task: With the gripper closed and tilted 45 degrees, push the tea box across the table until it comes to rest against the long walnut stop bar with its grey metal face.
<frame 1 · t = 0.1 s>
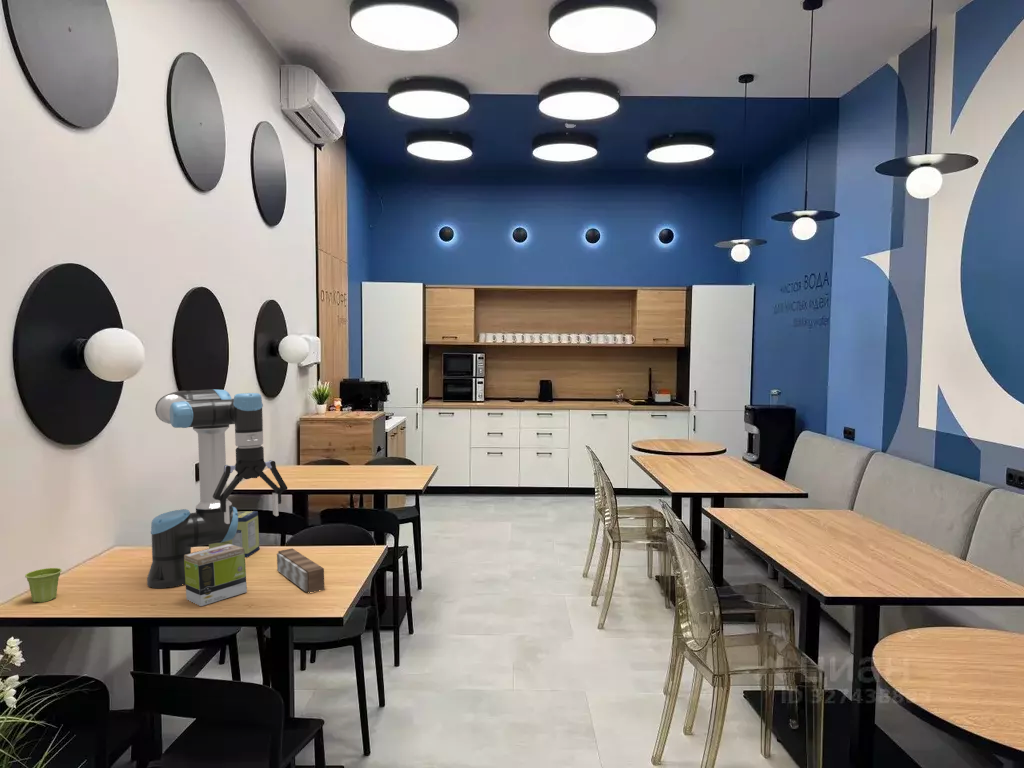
hand: (251, 519, 185), 28 cm above the table, tool pointing down, fingers open, 13 cm apart
protein box: (234, 554, 248), on the table
plant pot: (44, 600, 202), on the table
stop bar: (300, 579, 215), on the table
tea box: (216, 597, 201), on the table
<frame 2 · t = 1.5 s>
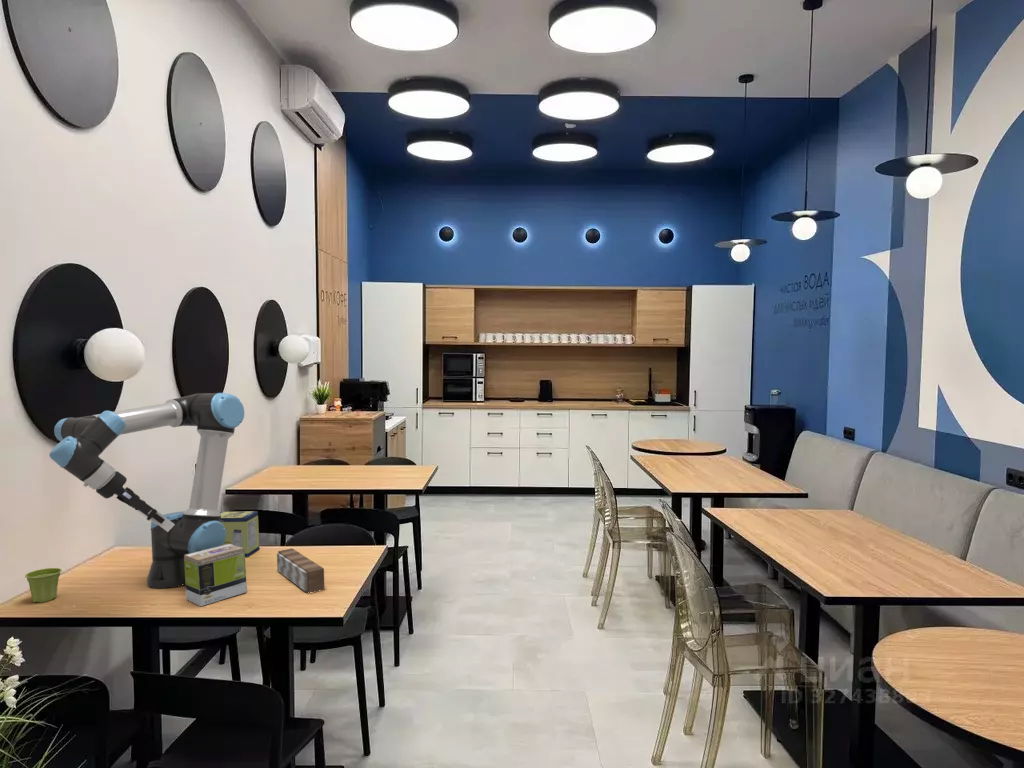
hand: (164, 524, 191), 25 cm above the table, tool tilted 45°, fingers open, 13 cm apart
nothing on the table moved.
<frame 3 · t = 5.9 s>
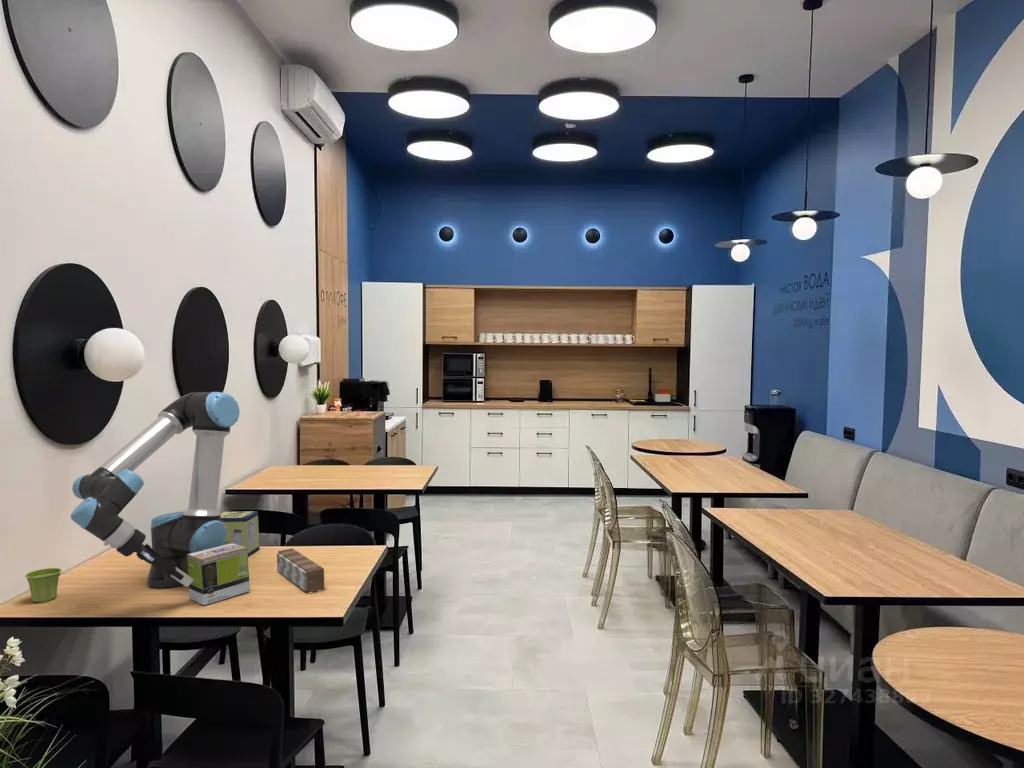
hand: (190, 583, 195), 6 cm above the table, tool tilted 45°, fingers closed
tea box: (219, 596, 202), on the table, touching gripper
everything else where it was.
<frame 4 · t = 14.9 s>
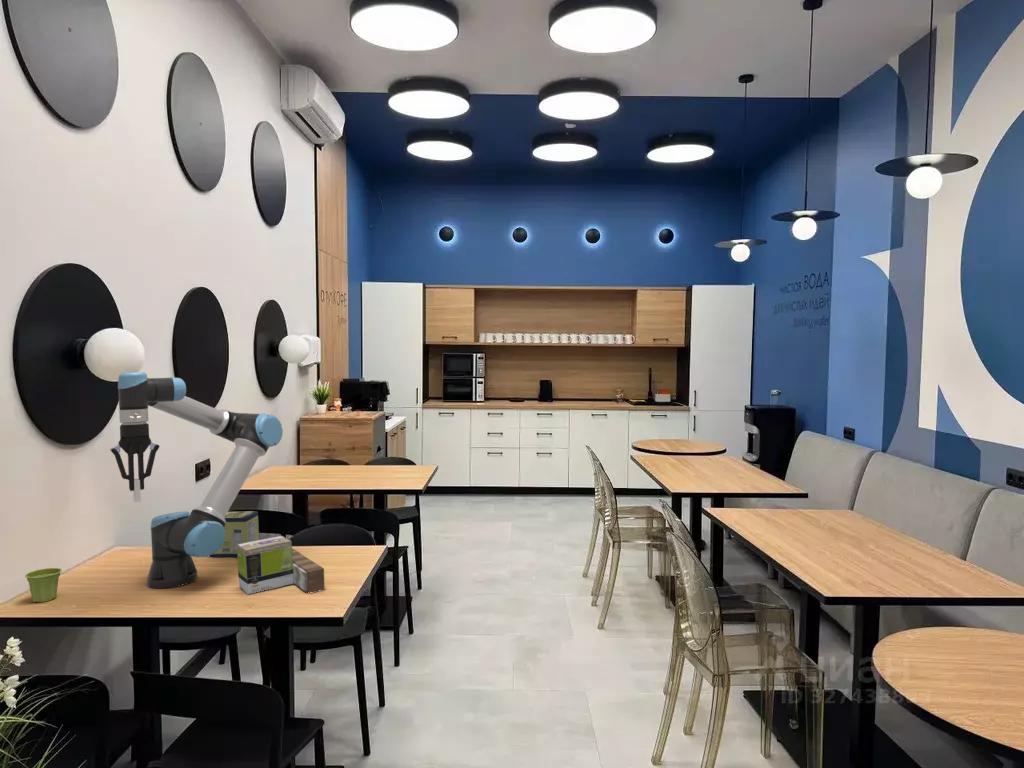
hand: (137, 500, 193), 32 cm above the table, tool pointing down, fingers closed
tea box: (266, 586, 210), on the table
everything else where it was.
at the end: tea box inside the target area on the table beside the stop bar (1.6 cm from its centre), on the table; tea box moved 15.2 cm from its start; tea box tilted 0° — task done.
